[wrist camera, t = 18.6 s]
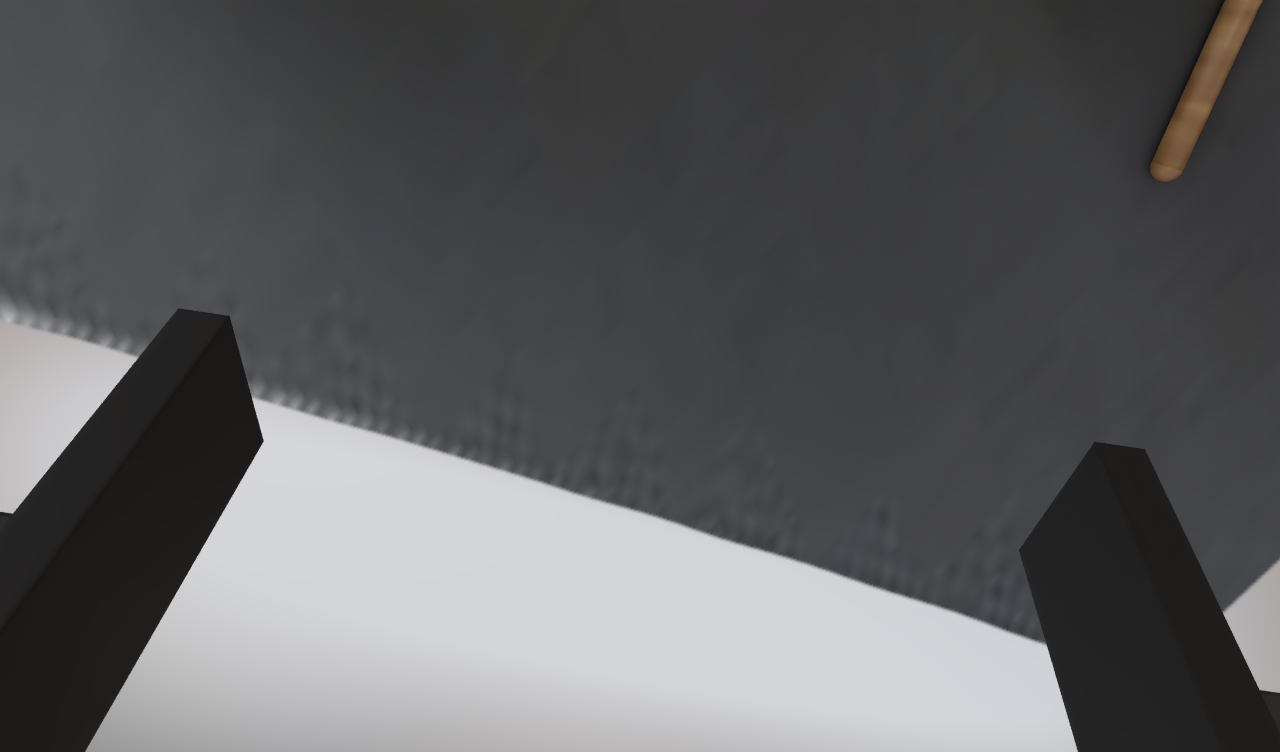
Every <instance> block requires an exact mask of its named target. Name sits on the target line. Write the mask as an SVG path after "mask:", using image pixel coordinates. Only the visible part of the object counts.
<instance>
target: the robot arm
mask: <svg viewBox="0 0 1280 752" xmlns="http://www.w3.org/2000/svg"><path fill="white" fill-rule="evenodd" d="M262 443H263V437H262V433H261V430H260V426H259V422H258V419H257V415H256V411H255V408H254V404H253V400H252V397H251V393H250V389H249V386H248V382H247V379H246V375H245V371H244V368H243V364H242V360H241V357H240V353H239V349H238V346H237V342H236V338H235V335H234V331H233V327H232V324H231V320H230V316H226V315H219V314H212V313H205V312H199V311H192V310H185V309H178V310H177V311H176V312H175V313H174V315H173V316H172V317H171V318H170V319H169V321H168V322H167V323H166V324H165V326H164V327H163V328H162V329H161V331H160V332H159V333H158V334H157V336H156V337H155V338H154V339H153V341H152V342H151V343H150V344H149V346H148V347H147V348H146V349H145V351H144V352H143V353H142V354H141V355H140V357H139V358H138V359H137V360H136V362H135V363H134V364H133V365H132V367H131V368H130V369H129V370H128V372H127V373H126V374H125V375H124V377H123V378H122V379H121V380H120V382H119V383H118V384H117V385H116V386H115V388H114V389H113V390H112V392H111V393H110V394H109V395H108V397H107V398H106V399H105V400H104V402H103V403H102V404H101V405H100V406H99V408H98V409H97V410H96V411H95V413H94V414H93V415H92V417H91V418H90V419H89V420H88V421H87V422H86V424H85V425H84V426H83V427H82V429H81V430H80V431H79V432H78V434H77V435H76V436H75V437H74V439H73V440H72V441H71V442H70V444H69V445H68V446H67V447H66V449H65V450H64V451H63V452H62V453H61V455H60V456H59V457H58V458H57V460H56V461H55V462H54V464H53V465H52V466H51V467H50V468H49V470H48V471H47V472H46V474H45V475H44V476H43V477H42V478H41V480H40V481H39V482H38V483H37V485H36V486H35V487H34V488H33V489H32V491H31V492H30V493H29V495H28V496H27V497H26V498H25V499H24V501H23V502H22V503H21V504H20V506H19V507H18V508H17V509H16V511H15V512H14V513H13V514H11V513H4V512H0V752H85V751H86V749H87V747H88V745H89V744H90V742H91V740H92V739H93V737H94V735H95V733H96V732H97V730H98V728H99V726H100V725H101V723H102V721H103V719H104V718H105V716H106V714H107V712H108V711H109V709H110V707H111V705H112V704H113V702H114V700H115V699H116V697H117V695H118V693H119V691H120V690H121V688H122V686H123V685H124V683H125V681H126V680H127V678H128V676H129V674H130V673H131V671H132V669H133V667H134V666H135V664H136V662H137V660H138V659H139V657H140V655H141V654H142V652H143V650H144V648H145V646H146V645H147V643H148V641H149V640H150V638H151V636H152V634H153V632H154V631H155V629H156V627H157V626H158V624H159V622H160V620H161V619H162V617H163V615H164V613H165V612H166V610H167V608H168V607H169V605H170V603H171V601H172V599H173V598H174V596H175V594H176V592H177V591H178V589H179V587H180V586H181V584H182V582H183V580H184V579H185V577H186V575H187V574H188V572H189V570H190V568H191V567H192V565H193V563H194V561H195V560H196V558H197V556H198V554H199V553H200V551H201V549H202V547H203V546H204V544H205V542H206V541H207V539H208V537H209V535H210V533H211V532H212V530H213V528H214V527H215V525H216V523H217V521H218V520H219V518H220V516H221V515H222V513H223V511H224V509H225V508H226V506H227V504H228V502H229V500H230V499H231V497H232V495H233V494H234V492H235V490H236V488H237V487H238V485H239V483H240V481H241V480H242V478H243V476H244V474H245V473H246V471H247V469H248V467H249V466H250V464H251V462H252V461H253V459H254V457H255V455H256V454H257V452H258V450H259V448H260V447H261V445H262ZM1019 551H1020V555H1021V558H1022V562H1023V565H1024V569H1025V572H1026V575H1027V579H1028V582H1029V586H1030V589H1031V592H1032V596H1033V599H1034V603H1035V606H1036V610H1037V613H1038V616H1039V620H1040V623H1041V627H1042V630H1043V634H1044V637H1045V640H1046V644H1047V647H1048V651H1049V654H1050V658H1051V661H1052V664H1053V667H1054V671H1055V675H1056V678H1057V681H1058V685H1059V688H1060V692H1061V695H1062V699H1063V702H1064V705H1065V708H1066V712H1067V715H1068V719H1069V722H1070V726H1071V729H1072V733H1073V736H1074V739H1075V743H1076V746H1077V750H1078V752H1280V693H1276V692H1269V691H1261V690H1259V688H1258V686H1257V684H1256V682H1255V680H1254V677H1253V676H1252V673H1251V671H1250V669H1249V667H1248V665H1247V663H1246V661H1245V659H1244V656H1243V655H1242V652H1241V650H1240V648H1239V646H1238V644H1237V642H1236V640H1235V638H1234V636H1233V633H1232V631H1231V629H1230V627H1229V625H1228V623H1227V621H1226V619H1225V617H1224V615H1223V612H1222V610H1221V608H1220V606H1219V604H1218V602H1217V600H1216V598H1215V596H1214V594H1213V591H1212V589H1211V587H1210V585H1209V583H1208V581H1207V579H1206V577H1205V575H1204V573H1203V570H1202V568H1201V566H1200V564H1199V562H1198V560H1197V558H1196V556H1195V554H1194V552H1193V549H1192V547H1191V545H1190V543H1189V541H1188V539H1187V537H1186V535H1185V533H1184V531H1183V528H1182V526H1181V524H1180V522H1179V520H1178V518H1177V516H1176V514H1175V512H1174V510H1173V507H1172V505H1171V503H1170V501H1169V499H1168V497H1167V495H1166V493H1165V491H1164V489H1163V486H1162V484H1161V482H1160V480H1159V478H1158V476H1157V474H1156V472H1155V470H1154V468H1153V466H1152V463H1151V461H1150V459H1149V457H1148V455H1147V453H1146V451H1145V449H1140V448H1133V447H1126V446H1119V445H1112V444H1105V443H1098V442H1094V444H1093V445H1092V447H1091V448H1090V450H1089V451H1088V452H1087V454H1086V455H1085V457H1084V458H1083V460H1082V461H1081V462H1080V464H1079V465H1078V467H1077V468H1076V470H1075V471H1074V472H1073V474H1072V475H1071V477H1070V478H1069V480H1068V481H1067V482H1066V484H1065V485H1064V487H1063V488H1062V490H1061V491H1060V492H1059V494H1058V495H1057V497H1056V498H1055V500H1054V501H1053V502H1052V504H1051V505H1050V507H1049V508H1048V510H1047V511H1046V512H1045V514H1044V515H1043V517H1042V518H1041V520H1040V521H1039V522H1038V524H1037V525H1036V527H1035V528H1034V530H1033V531H1032V532H1031V534H1030V535H1029V537H1028V538H1027V540H1026V541H1025V542H1024V544H1023V545H1022V547H1021V548H1020V550H1019Z"/></svg>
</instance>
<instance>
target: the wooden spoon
mask: <svg viewBox="0 0 1280 752" xmlns="http://www.w3.org/2000/svg"><path fill="white" fill-rule="evenodd" d="M1261 2H1262V0H1225V1H1224V3H1223V5H1222V7H1221V10H1220V12H1219V14H1218V16H1217V18H1216V21H1215V23H1214V25H1213V27H1212V30H1211V32H1210V34H1209V36H1208V38H1207V41H1206V43H1205V45H1204V47H1203V49H1202V52H1201V54H1200V56H1199V58H1198V61H1197V63H1196V65H1195V67H1194V69H1193V72H1192V74H1191V76H1190V78H1189V81H1188V83H1187V85H1186V87H1185V89H1184V92H1183V94H1182V96H1181V98H1180V100H1179V103H1178V105H1177V107H1176V109H1175V112H1174V114H1173V116H1172V118H1171V120H1170V123H1169V125H1168V127H1167V129H1166V132H1165V134H1164V136H1163V138H1162V140H1161V143H1160V145H1159V147H1158V149H1157V151H1156V154H1155V156H1154V158H1153V160H1152V163H1151V165H1150V172H1151V175H1152V176H1153V177H1154V178H1155V179H1156V180H1158V181H1161V182H1169V181H1172V180H1175V179H1176V178H1178V177H1179V176H1180V175H1181V174H1182V172H1183V170H1184V168H1185V166H1186V164H1187V161H1188V159H1189V157H1190V155H1191V153H1192V151H1193V149H1194V146H1195V144H1196V142H1197V140H1198V138H1199V136H1200V134H1201V131H1202V129H1203V127H1204V125H1205V123H1206V121H1207V118H1208V116H1209V114H1210V112H1211V110H1212V108H1213V106H1214V103H1215V101H1216V99H1217V97H1218V95H1219V93H1220V91H1221V88H1222V86H1223V84H1224V82H1225V80H1226V78H1227V76H1228V73H1229V71H1230V69H1231V67H1232V65H1233V63H1234V60H1235V58H1236V56H1237V54H1238V52H1239V50H1240V48H1241V45H1242V43H1243V41H1244V39H1245V37H1246V35H1247V33H1248V30H1249V28H1250V26H1251V24H1252V22H1253V20H1254V18H1255V15H1256V13H1257V11H1258V9H1259V7H1260V5H1261Z"/></svg>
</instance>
